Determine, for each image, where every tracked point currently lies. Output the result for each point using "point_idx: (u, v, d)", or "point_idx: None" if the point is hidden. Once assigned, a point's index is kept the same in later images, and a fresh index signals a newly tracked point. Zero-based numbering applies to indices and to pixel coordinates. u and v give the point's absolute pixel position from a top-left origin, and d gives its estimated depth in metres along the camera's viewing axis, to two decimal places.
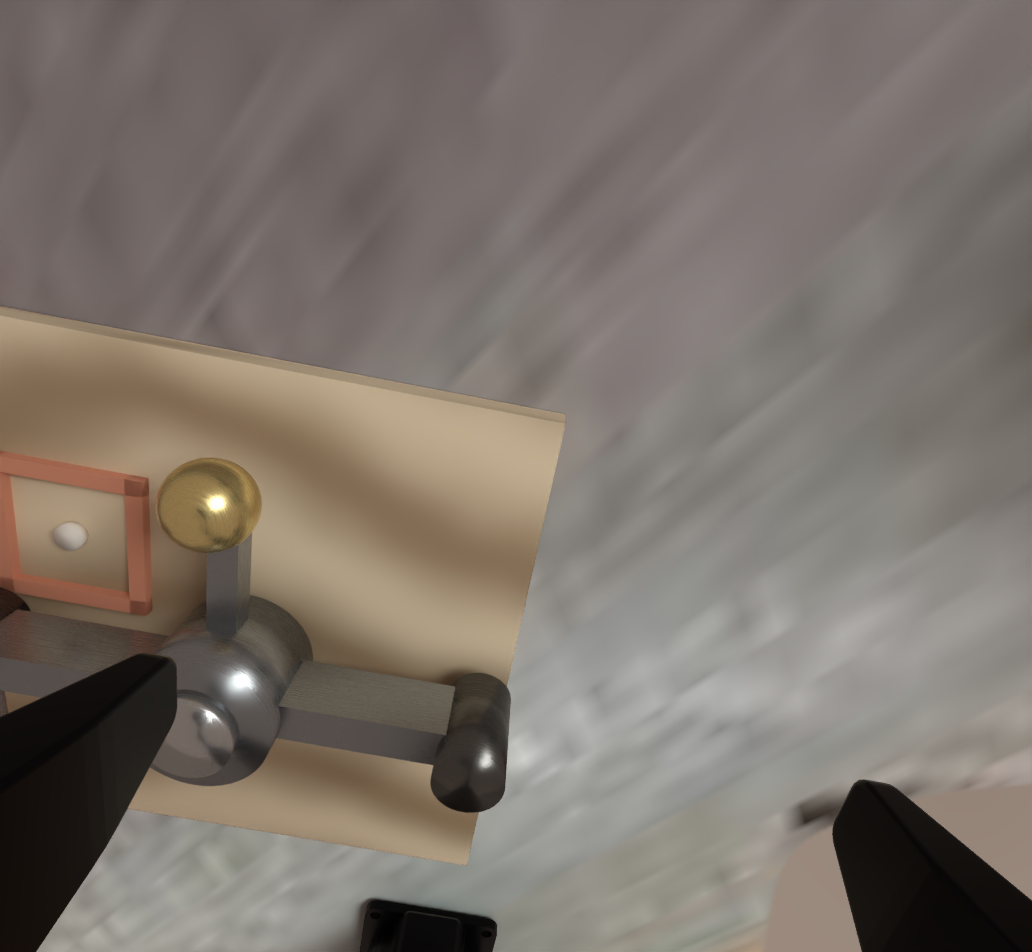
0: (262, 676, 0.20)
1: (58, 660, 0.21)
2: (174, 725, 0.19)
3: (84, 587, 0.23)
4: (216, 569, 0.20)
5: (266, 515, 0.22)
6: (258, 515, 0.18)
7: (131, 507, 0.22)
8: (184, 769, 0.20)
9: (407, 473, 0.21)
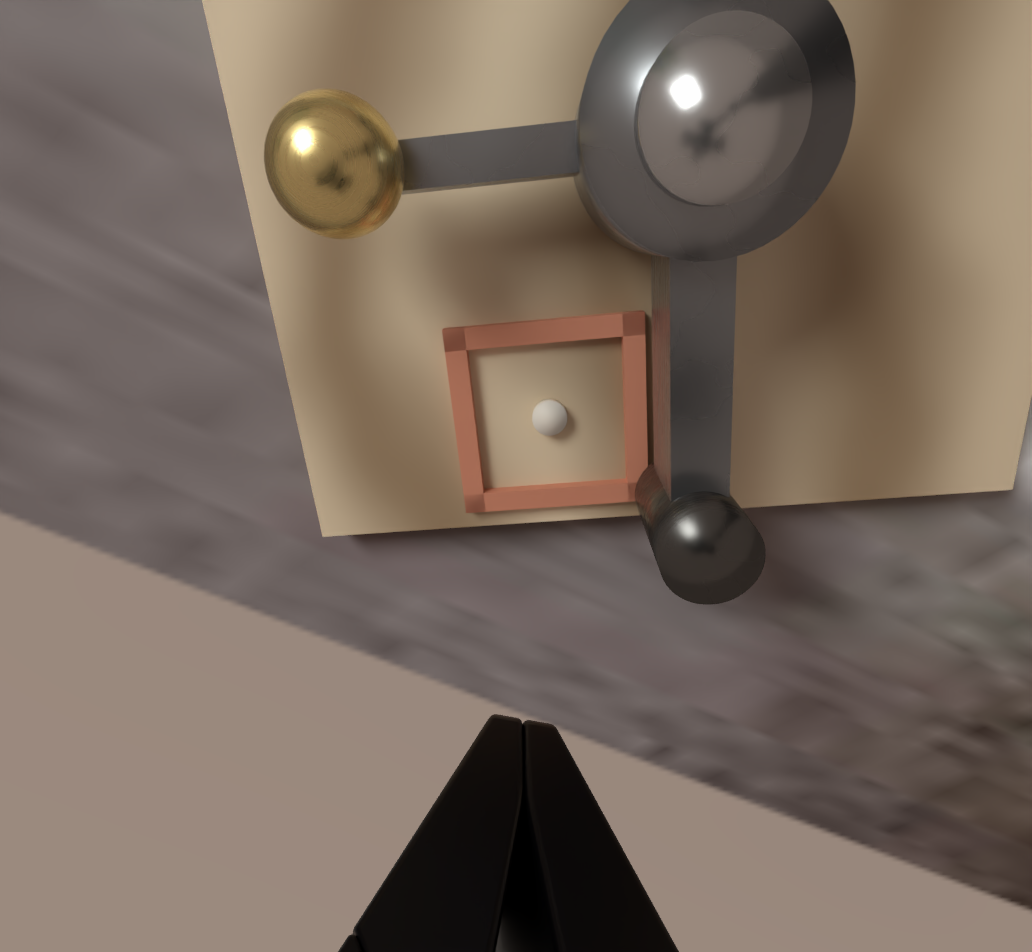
0: None
1: (668, 378, 0.14)
2: (689, 132, 0.11)
3: (624, 400, 0.18)
4: (469, 167, 0.14)
5: None
6: None
7: (481, 341, 0.17)
8: (793, 103, 0.11)
9: None
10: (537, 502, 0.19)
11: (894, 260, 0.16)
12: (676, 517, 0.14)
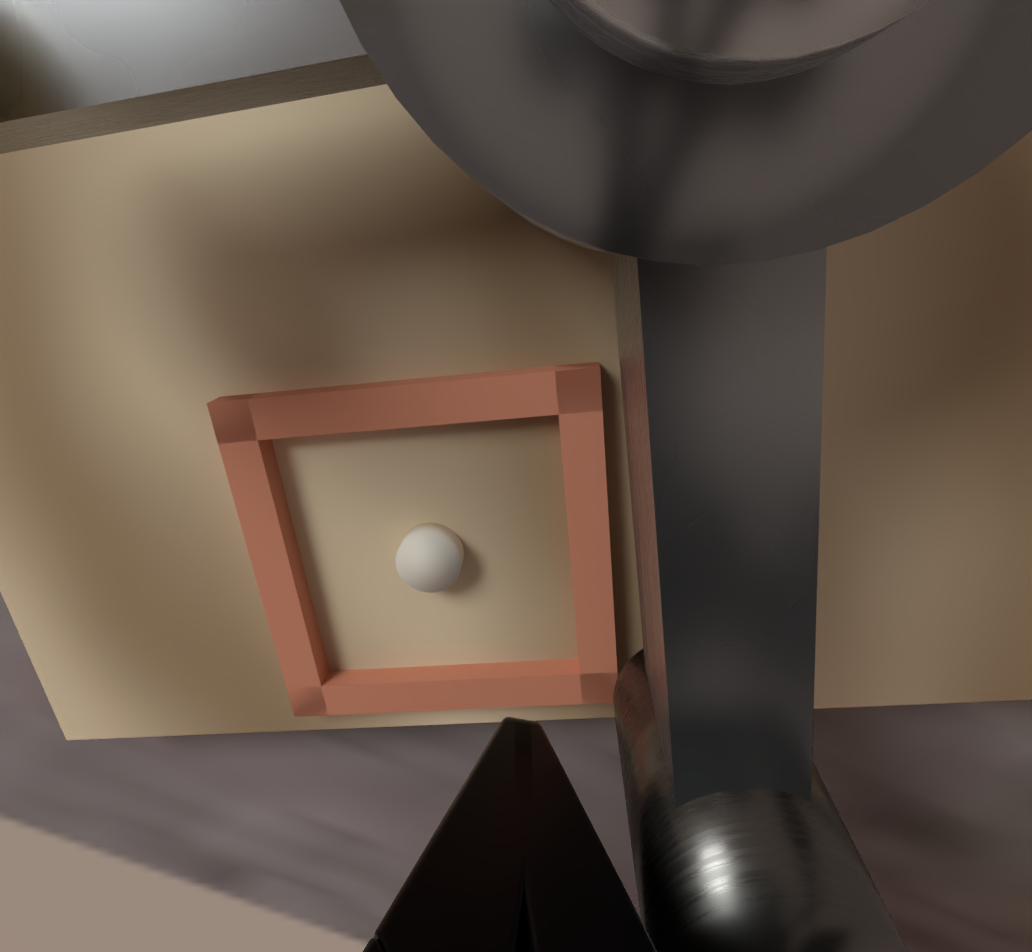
0: None
1: None
2: None
3: None
4: (121, 54, 0.05)
5: None
6: None
7: (284, 423, 0.09)
8: None
9: None
10: (418, 702, 0.10)
11: None
12: (688, 886, 0.06)
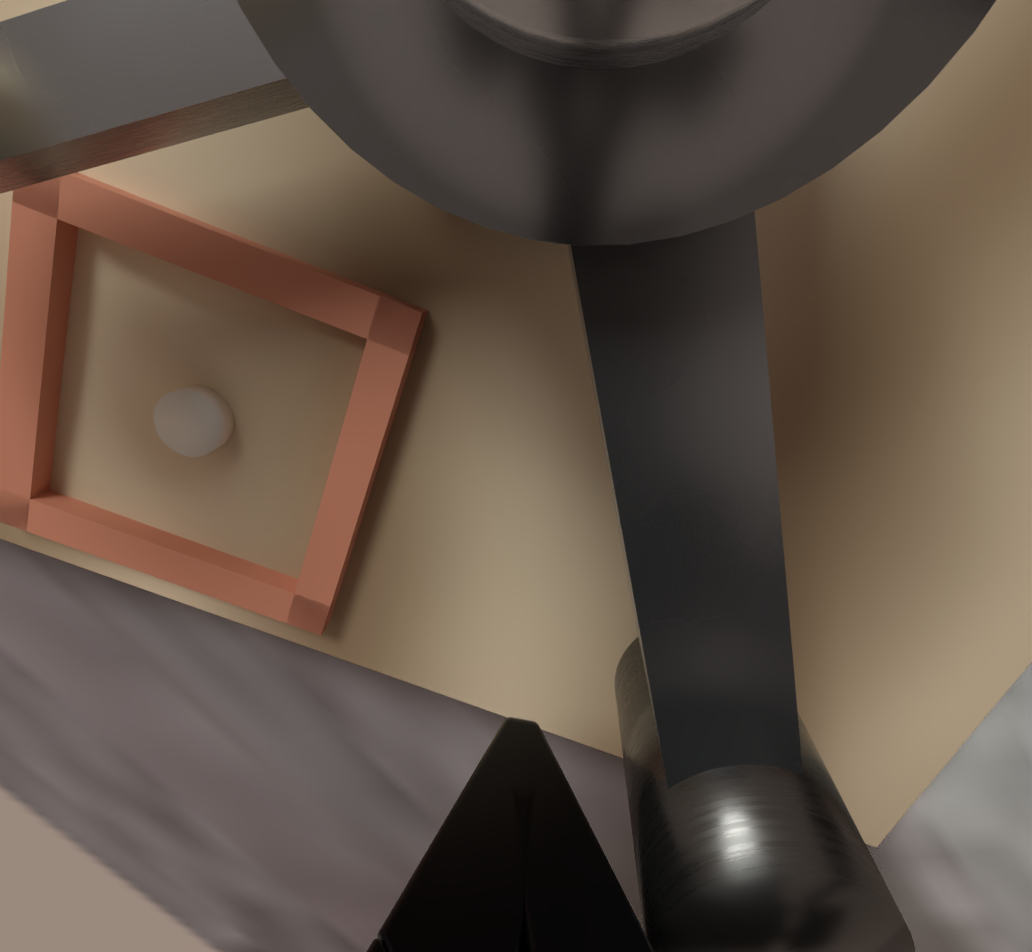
0: None
1: None
2: None
3: (338, 453, 0.09)
4: (76, 94, 0.06)
5: None
6: None
7: (92, 215, 0.08)
8: None
9: None
10: (126, 556, 0.10)
11: (878, 434, 0.09)
12: (679, 863, 0.06)
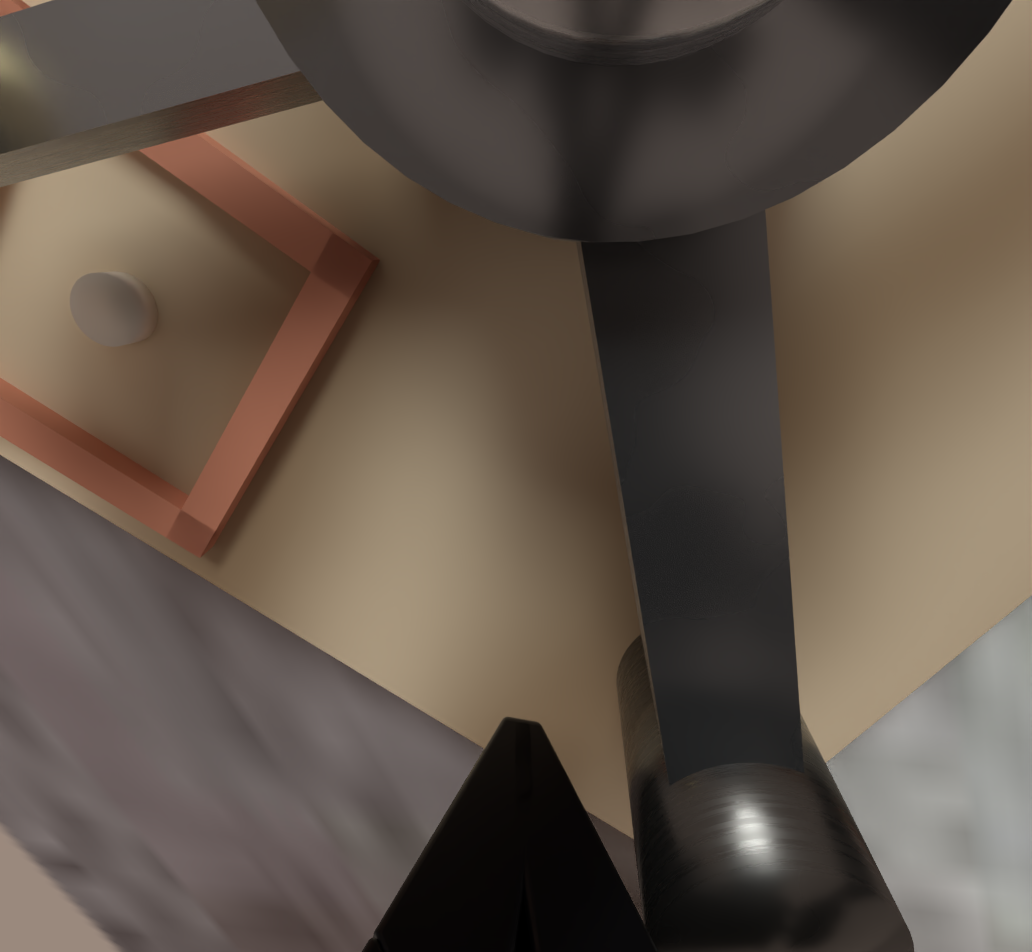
0: None
1: None
2: None
3: (258, 379, 0.09)
4: (89, 86, 0.06)
5: None
6: None
7: None
8: None
9: None
10: (10, 430, 0.09)
11: None
12: (679, 860, 0.06)
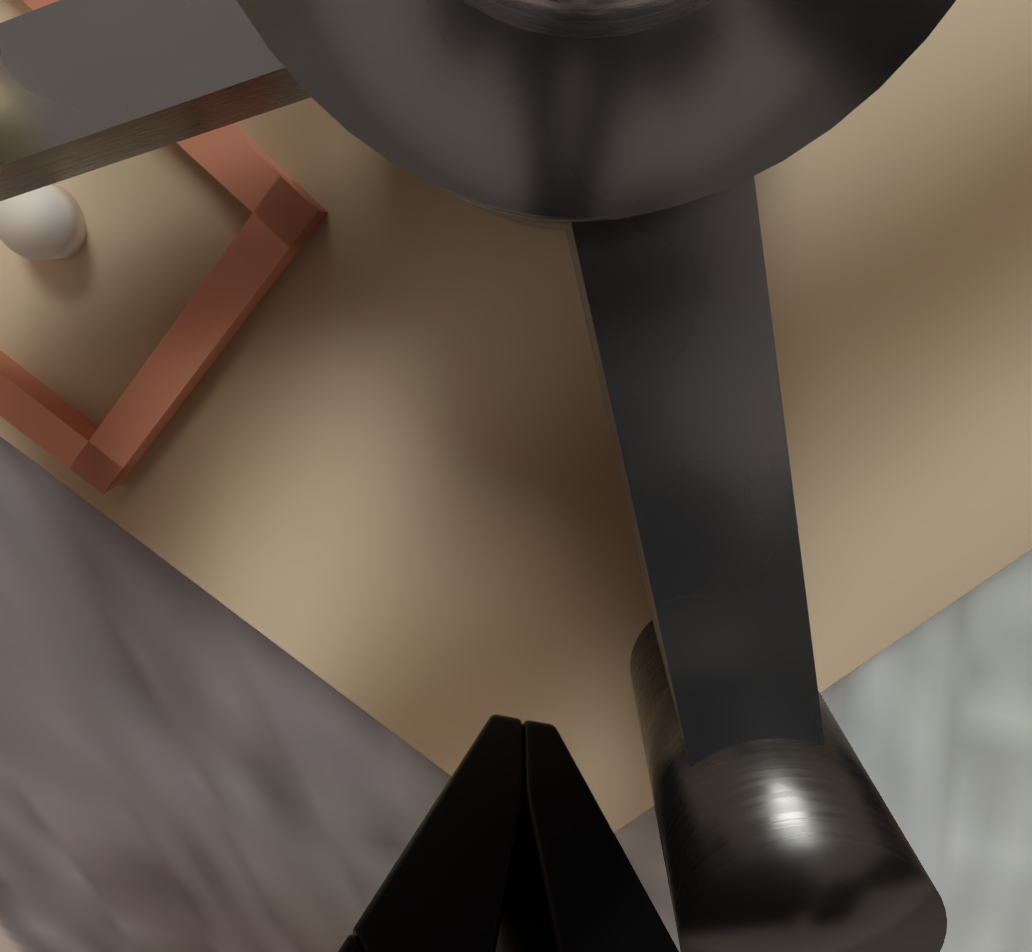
0: None
1: None
2: None
3: (185, 316, 0.09)
4: (69, 97, 0.06)
5: None
6: None
7: None
8: None
9: None
10: None
11: None
12: (706, 840, 0.06)
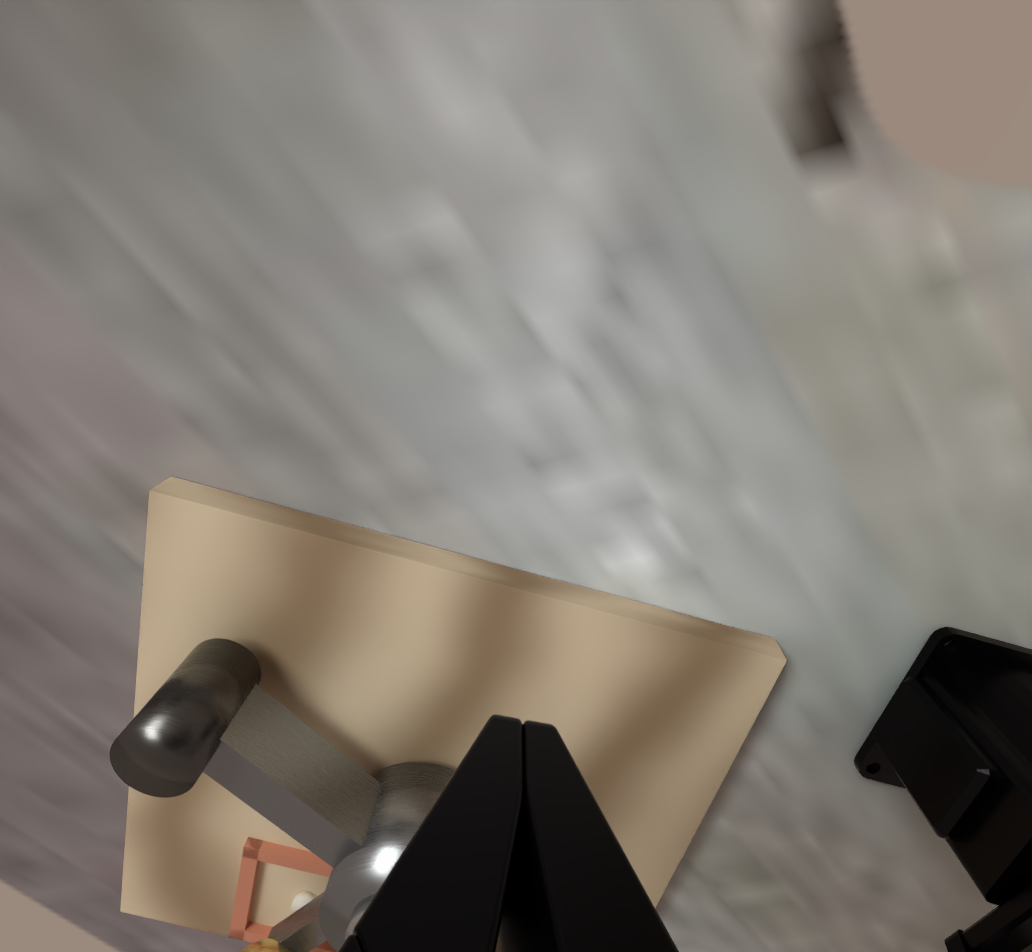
0: None
1: None
2: None
3: None
4: (322, 934, 0.22)
5: None
6: None
7: (269, 859, 0.24)
8: None
9: None
10: None
11: None
12: None
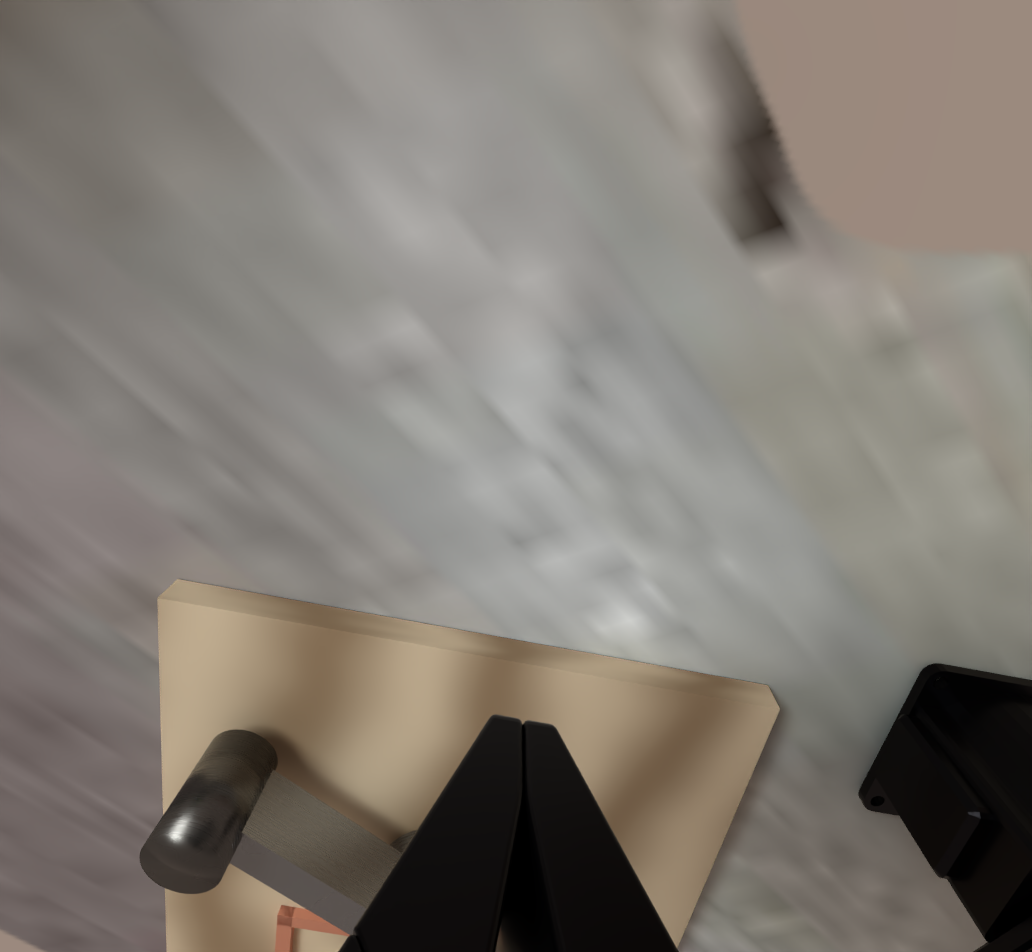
0: None
1: None
2: None
3: None
4: None
5: None
6: None
7: (302, 925, 0.25)
8: None
9: (238, 728, 0.22)
10: None
11: None
12: None
